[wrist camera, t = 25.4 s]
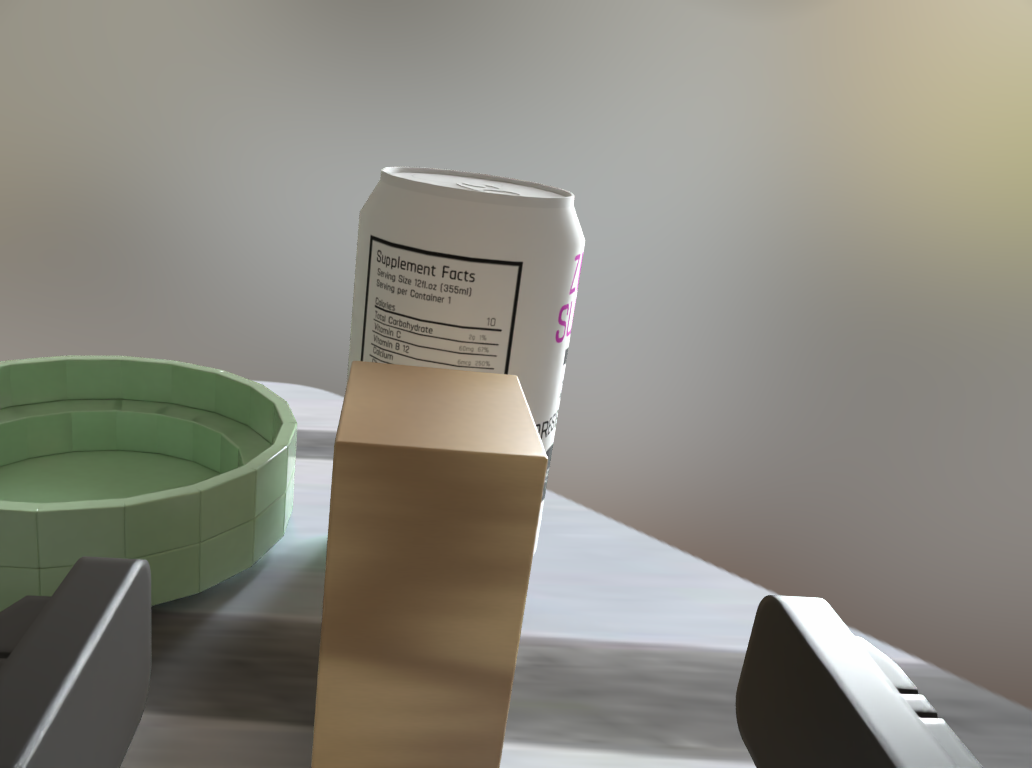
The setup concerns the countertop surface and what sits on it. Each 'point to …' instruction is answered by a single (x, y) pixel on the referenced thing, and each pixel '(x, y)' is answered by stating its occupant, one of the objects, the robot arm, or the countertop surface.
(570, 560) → the countertop surface
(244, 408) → the bowl
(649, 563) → the countertop surface
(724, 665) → the countertop surface
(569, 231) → the supplement can
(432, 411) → the light brown wooden block
